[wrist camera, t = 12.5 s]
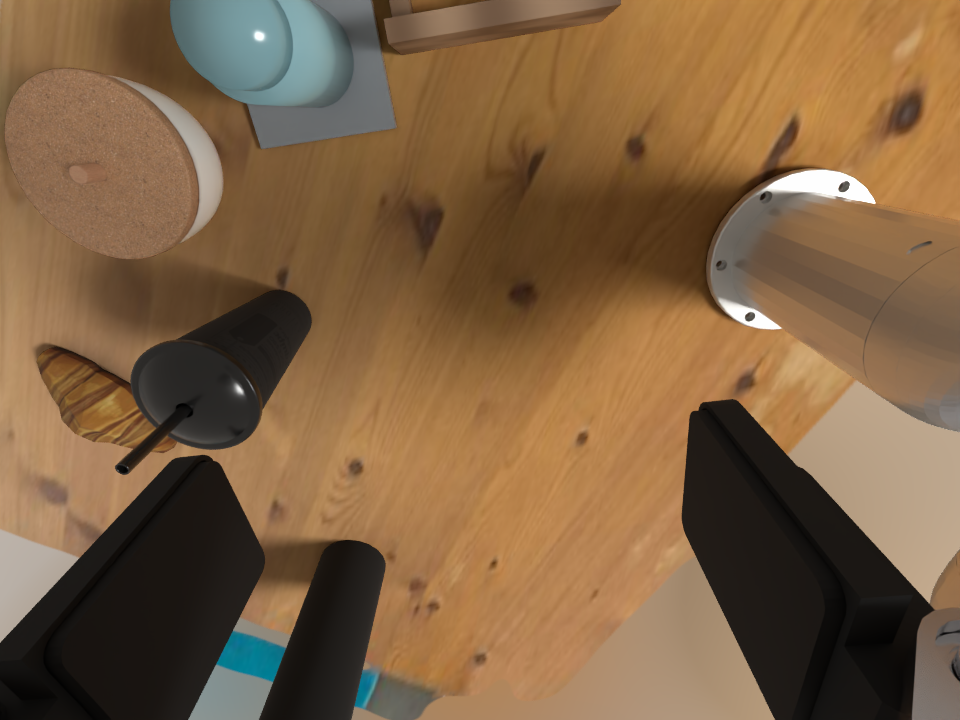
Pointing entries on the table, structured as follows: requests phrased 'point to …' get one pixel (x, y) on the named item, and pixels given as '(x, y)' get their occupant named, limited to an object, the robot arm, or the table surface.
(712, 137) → the table surface
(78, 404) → the croissant
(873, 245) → the robot arm
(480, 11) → the cradle
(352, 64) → the jug
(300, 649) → the wine bottle
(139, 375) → the drinking cup
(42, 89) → the lidded jar
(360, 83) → the coaster
